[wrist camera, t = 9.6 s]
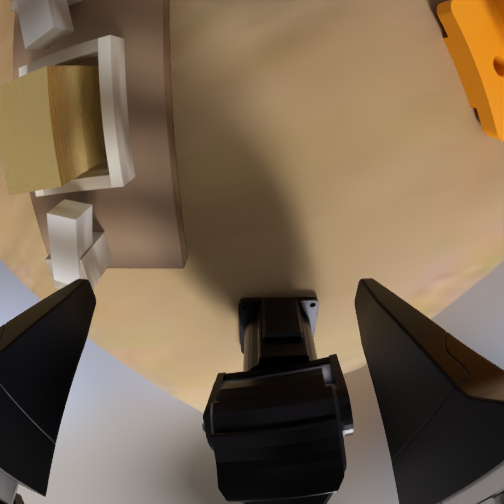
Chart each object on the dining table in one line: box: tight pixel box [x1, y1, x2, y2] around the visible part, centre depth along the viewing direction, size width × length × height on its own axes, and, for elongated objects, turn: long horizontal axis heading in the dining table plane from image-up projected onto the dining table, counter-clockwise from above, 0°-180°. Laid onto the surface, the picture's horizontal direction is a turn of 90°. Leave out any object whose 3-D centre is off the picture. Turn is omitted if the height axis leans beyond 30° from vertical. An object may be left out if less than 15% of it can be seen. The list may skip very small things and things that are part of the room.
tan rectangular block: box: [0, 66, 107, 195], centre depth 13 cm, size 6×4×6 cm, turn 1°
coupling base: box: [11, 0, 187, 289], centre depth 15 cm, size 23×12×6 cm, turn 1°
